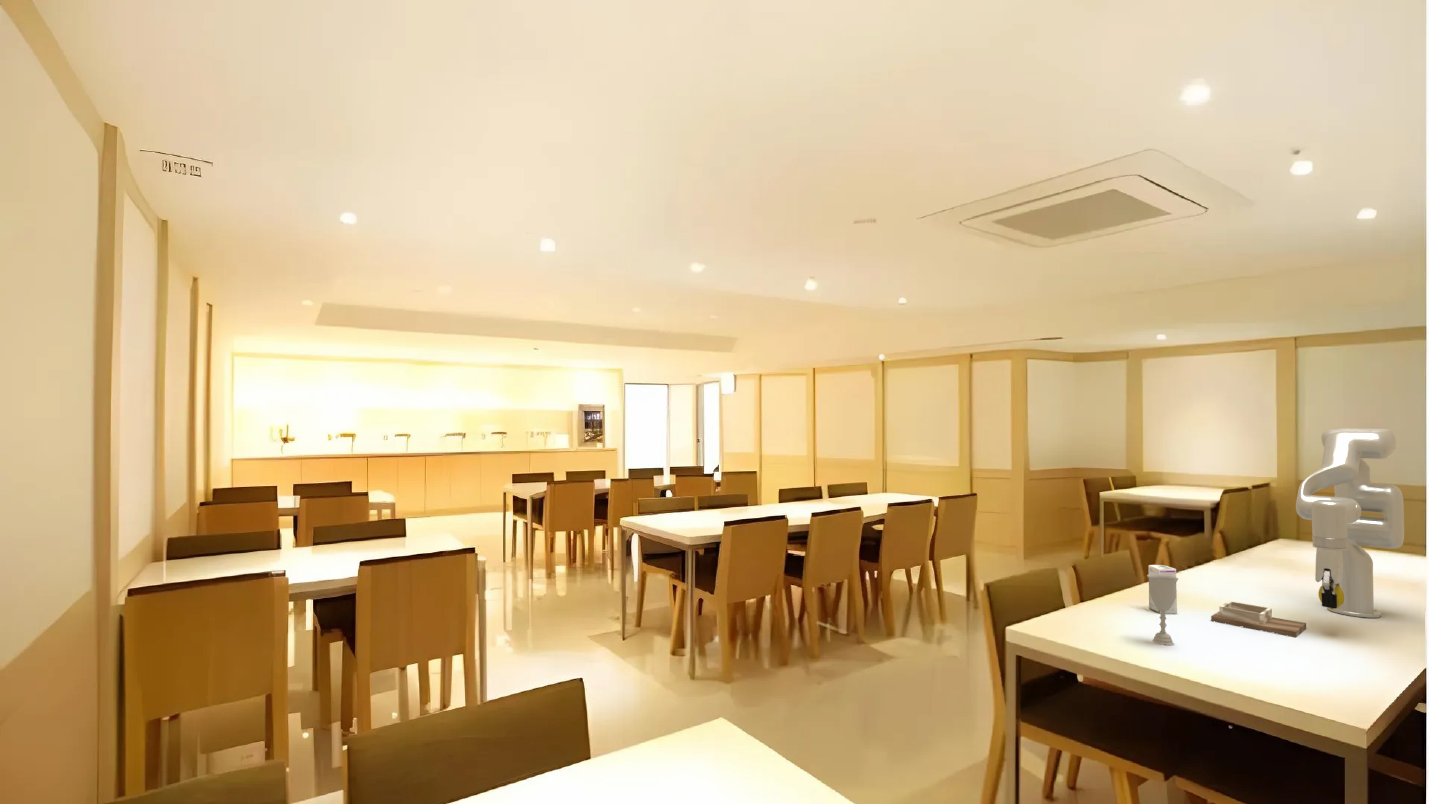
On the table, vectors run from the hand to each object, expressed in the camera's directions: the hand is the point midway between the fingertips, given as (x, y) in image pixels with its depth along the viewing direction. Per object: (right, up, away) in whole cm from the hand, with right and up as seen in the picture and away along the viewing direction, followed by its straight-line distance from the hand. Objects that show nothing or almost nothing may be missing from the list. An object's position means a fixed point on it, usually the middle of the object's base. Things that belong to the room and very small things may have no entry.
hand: (1331, 604), depth 195 cm
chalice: (-55, -8, -9) cm, 56 cm away
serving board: (-14, -9, +9) cm, 19 cm away
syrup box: (-34, -9, +22) cm, 42 cm away
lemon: (0, -2, 0) cm, 2 cm away
